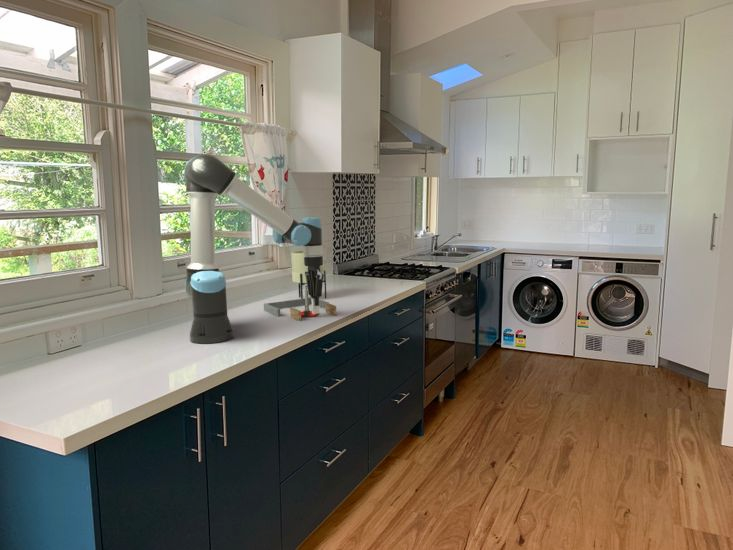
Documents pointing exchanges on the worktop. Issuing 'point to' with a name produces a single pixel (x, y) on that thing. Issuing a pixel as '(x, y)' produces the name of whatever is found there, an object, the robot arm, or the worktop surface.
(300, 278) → the planter
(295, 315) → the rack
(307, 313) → the tow hook
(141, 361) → the worktop surface
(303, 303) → the grey piece
